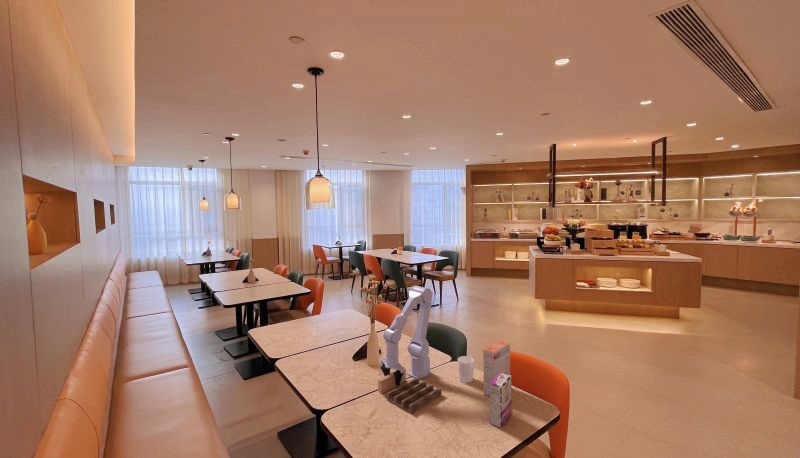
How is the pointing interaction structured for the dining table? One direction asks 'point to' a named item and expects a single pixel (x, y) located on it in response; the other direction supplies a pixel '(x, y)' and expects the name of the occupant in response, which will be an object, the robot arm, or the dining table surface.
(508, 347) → the cracker box
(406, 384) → the slatted brown panel
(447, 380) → the dining table surface
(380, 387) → the clay strip
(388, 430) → the dining table surface
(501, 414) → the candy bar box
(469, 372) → the white cup
